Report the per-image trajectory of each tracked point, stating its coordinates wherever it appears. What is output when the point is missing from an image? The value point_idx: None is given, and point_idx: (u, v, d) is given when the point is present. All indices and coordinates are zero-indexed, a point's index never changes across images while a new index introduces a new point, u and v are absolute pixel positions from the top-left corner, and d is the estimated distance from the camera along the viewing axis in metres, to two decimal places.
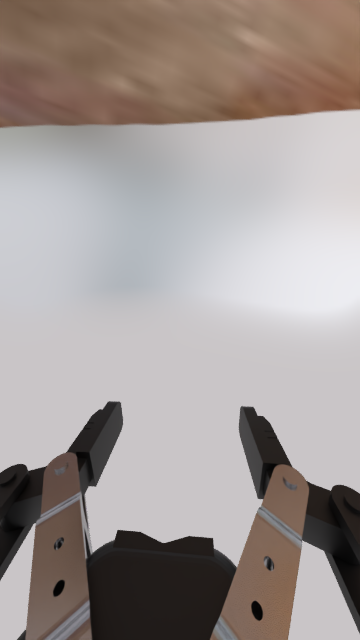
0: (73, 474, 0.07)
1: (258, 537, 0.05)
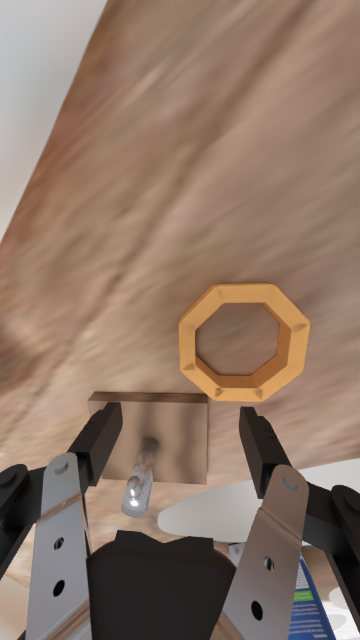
0: (73, 474, 0.07)
1: (258, 537, 0.05)
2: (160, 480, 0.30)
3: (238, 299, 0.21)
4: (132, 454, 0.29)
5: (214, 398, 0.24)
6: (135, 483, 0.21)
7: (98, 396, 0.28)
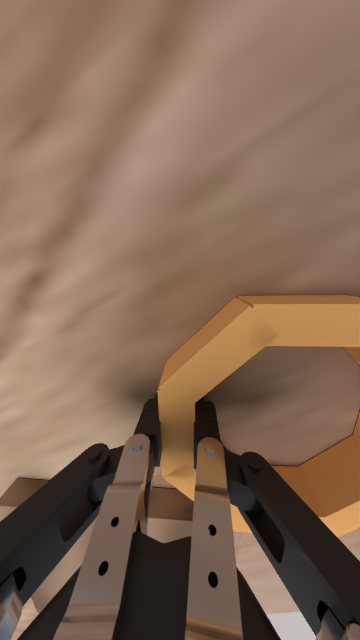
0: (143, 458, 0.08)
1: (200, 514, 0.06)
2: None
3: (305, 338, 0.08)
4: None
5: (232, 527, 0.12)
6: None
7: (19, 492, 0.16)
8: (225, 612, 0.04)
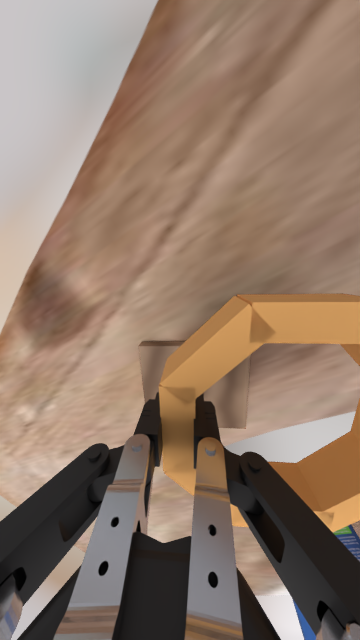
0: (143, 458, 0.08)
1: (200, 514, 0.06)
2: None
3: (302, 335, 0.09)
4: None
5: (232, 522, 0.12)
6: None
7: (147, 343, 0.31)
8: (225, 612, 0.04)
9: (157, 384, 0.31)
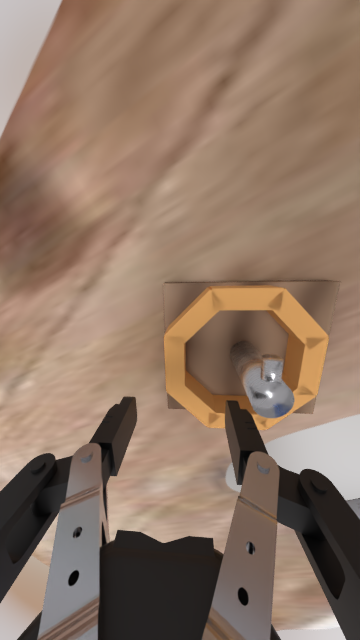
0: (96, 465, 0.08)
1: (239, 525, 0.05)
2: None
3: (239, 306, 0.16)
4: (215, 368, 0.21)
5: (208, 425, 0.20)
6: (277, 359, 0.13)
7: None
8: (251, 637, 0.04)
9: (187, 346, 0.21)
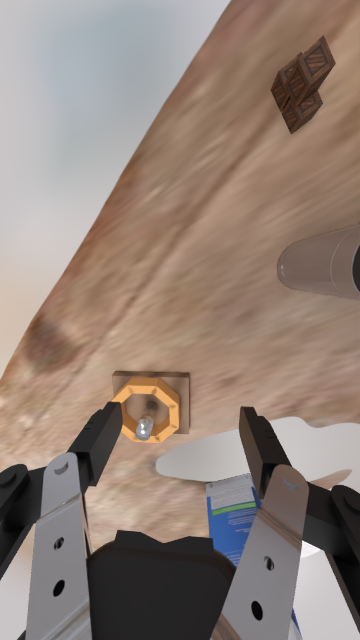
0: (73, 474, 0.07)
1: (258, 537, 0.05)
2: None
3: (139, 392, 0.39)
4: (139, 412, 0.44)
5: (133, 440, 0.43)
6: (143, 419, 0.35)
7: (118, 373, 0.43)
8: None
9: (125, 402, 0.44)
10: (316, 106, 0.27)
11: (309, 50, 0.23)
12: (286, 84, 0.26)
